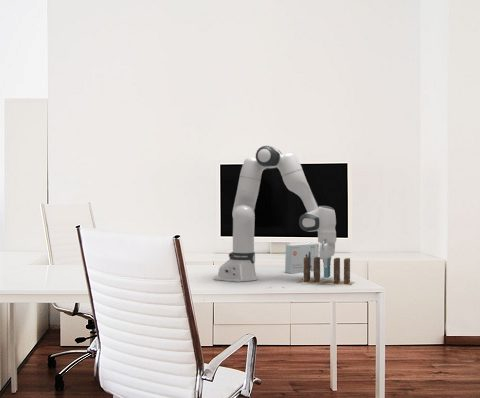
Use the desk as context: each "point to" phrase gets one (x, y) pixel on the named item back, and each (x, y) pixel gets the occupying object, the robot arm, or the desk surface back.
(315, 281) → the tile
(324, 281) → the oak board
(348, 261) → the tile
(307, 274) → the dark wood plank
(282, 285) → the desk surface
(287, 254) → the skincare box
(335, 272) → the tile
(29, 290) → the desk surface
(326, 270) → the tile
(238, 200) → the robot arm
